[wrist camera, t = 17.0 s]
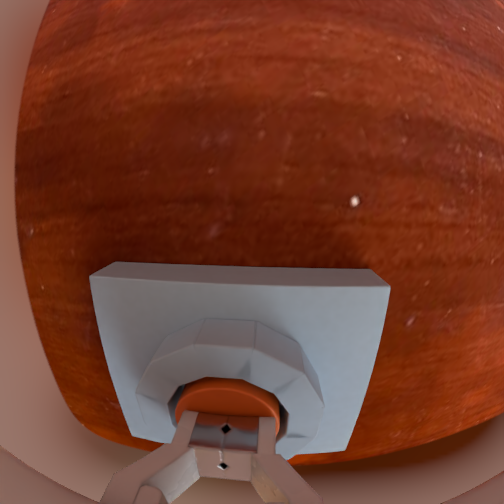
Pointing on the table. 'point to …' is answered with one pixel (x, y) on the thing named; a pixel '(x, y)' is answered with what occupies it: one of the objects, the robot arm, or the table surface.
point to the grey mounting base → (242, 342)
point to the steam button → (228, 399)
